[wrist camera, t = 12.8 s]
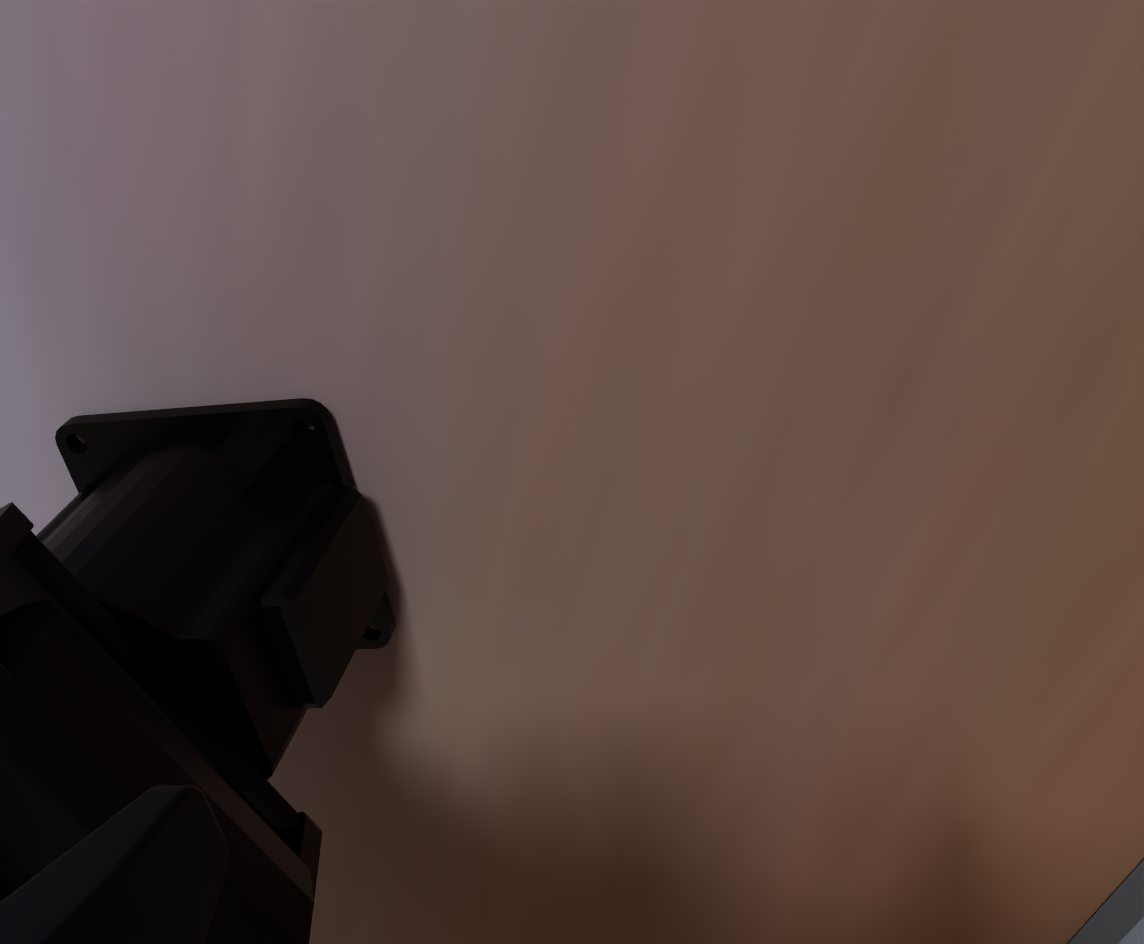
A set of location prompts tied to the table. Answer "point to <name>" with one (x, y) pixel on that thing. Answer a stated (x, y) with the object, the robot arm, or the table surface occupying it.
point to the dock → (1118, 915)
